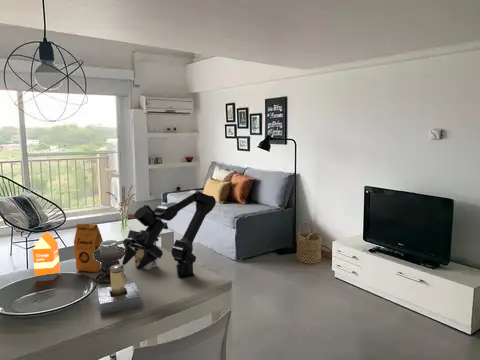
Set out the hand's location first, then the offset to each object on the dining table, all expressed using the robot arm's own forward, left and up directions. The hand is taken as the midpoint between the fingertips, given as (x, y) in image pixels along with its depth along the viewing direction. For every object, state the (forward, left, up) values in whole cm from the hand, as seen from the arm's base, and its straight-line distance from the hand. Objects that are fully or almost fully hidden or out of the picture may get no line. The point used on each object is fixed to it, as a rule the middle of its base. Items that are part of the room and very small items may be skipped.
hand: (130, 267), depth 146 cm
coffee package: (+13, -39, -12) cm, 43 cm away
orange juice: (+31, -37, -12) cm, 50 cm away
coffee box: (-11, -32, -12) cm, 36 cm away
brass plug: (+5, +3, -12) cm, 14 cm away
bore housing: (+5, +3, -12) cm, 13 cm away
